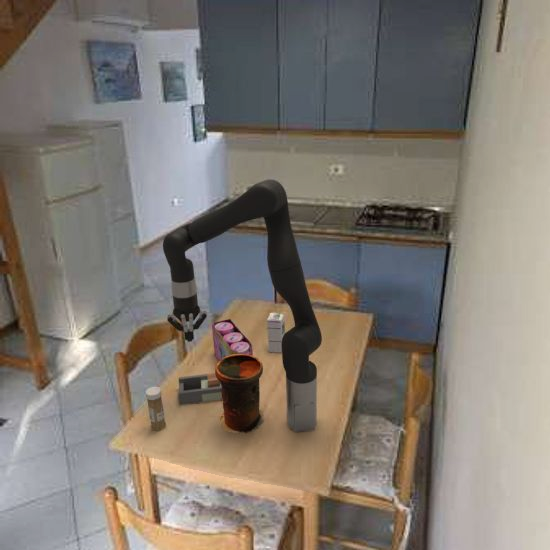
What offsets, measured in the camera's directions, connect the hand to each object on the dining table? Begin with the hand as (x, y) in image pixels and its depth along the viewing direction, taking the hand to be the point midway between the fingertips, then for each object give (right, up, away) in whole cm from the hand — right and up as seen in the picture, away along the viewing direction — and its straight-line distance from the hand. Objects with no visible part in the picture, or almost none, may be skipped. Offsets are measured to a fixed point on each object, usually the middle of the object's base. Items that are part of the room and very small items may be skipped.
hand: (189, 340), depth 160 cm
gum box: (+12, -13, +24) cm, 30 cm away
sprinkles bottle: (-9, -26, -6) cm, 28 cm away
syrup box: (+28, -8, +34) cm, 45 cm away
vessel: (+17, -24, -4) cm, 30 cm away
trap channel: (+7, -19, +9) cm, 22 cm away
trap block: (+7, -16, +8) cm, 19 cm away
